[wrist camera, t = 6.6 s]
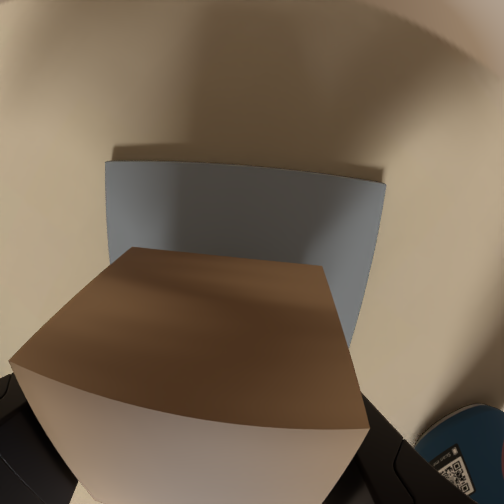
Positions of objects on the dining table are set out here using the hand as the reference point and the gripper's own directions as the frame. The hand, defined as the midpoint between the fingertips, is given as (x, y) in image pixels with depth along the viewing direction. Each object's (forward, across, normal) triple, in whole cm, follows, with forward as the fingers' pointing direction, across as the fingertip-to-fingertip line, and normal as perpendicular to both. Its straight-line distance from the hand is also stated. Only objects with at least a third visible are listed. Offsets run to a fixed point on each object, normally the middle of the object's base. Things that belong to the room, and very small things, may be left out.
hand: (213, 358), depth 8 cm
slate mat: (+3, 0, 0) cm, 3 cm away
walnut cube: (+1, 0, 0) cm, 1 cm away
